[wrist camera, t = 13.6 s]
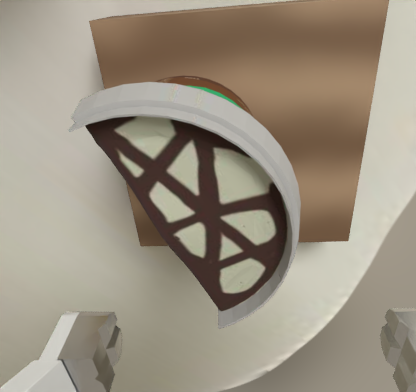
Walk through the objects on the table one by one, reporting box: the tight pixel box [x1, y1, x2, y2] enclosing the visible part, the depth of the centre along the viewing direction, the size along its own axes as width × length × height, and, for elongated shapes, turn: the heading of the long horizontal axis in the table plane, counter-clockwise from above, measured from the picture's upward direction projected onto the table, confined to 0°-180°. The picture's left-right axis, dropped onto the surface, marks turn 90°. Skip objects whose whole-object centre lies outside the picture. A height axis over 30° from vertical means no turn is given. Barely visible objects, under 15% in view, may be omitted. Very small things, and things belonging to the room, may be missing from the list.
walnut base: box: [89, 0, 389, 246], centre depth 24 cm, size 16×16×4 cm
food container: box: [68, 76, 301, 329], centre depth 17 cm, size 12×6×10 cm, turn 28°
